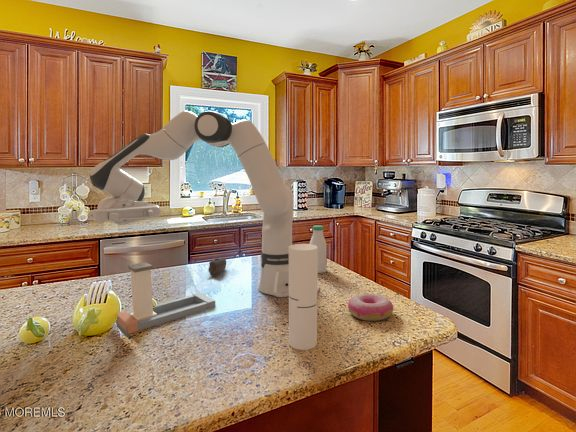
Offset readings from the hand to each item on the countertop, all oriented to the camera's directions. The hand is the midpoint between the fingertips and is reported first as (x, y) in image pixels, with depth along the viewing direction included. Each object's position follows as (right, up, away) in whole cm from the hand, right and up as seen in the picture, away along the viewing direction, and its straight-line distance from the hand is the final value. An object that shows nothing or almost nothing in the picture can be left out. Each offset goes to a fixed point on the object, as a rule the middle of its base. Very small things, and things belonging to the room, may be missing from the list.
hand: (135, 215), depth 106 cm
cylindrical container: (+51, -33, -19) cm, 64 cm away
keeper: (+7, -30, -10) cm, 32 cm away
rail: (+12, -31, -5) cm, 33 cm away
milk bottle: (+61, -25, +43) cm, 78 cm away
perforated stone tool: (+18, -25, +40) cm, 51 cm away
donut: (+73, -31, -2) cm, 79 cm away
